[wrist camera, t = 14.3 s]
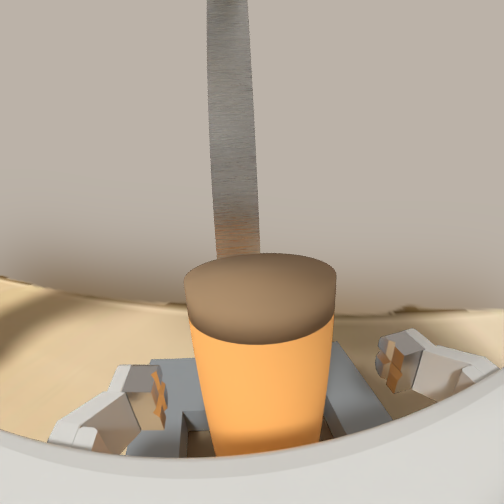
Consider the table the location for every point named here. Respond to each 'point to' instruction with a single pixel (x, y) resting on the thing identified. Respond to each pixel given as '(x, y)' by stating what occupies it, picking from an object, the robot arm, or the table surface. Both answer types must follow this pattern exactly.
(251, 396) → the orange brown canister
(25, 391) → the table surface
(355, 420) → the grey u-shaped bracket
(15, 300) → the table surface
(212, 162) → the hook stand
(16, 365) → the table surface
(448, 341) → the table surface
